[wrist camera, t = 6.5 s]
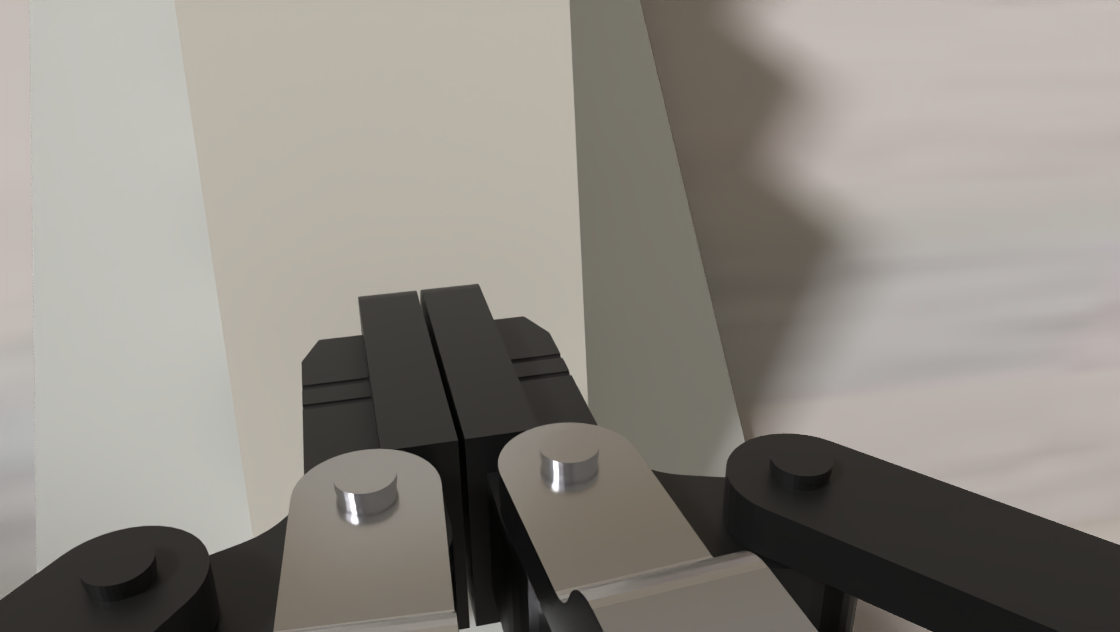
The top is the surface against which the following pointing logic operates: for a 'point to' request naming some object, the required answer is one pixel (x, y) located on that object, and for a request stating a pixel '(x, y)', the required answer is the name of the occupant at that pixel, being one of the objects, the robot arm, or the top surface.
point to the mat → (191, 295)
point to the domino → (376, 182)
